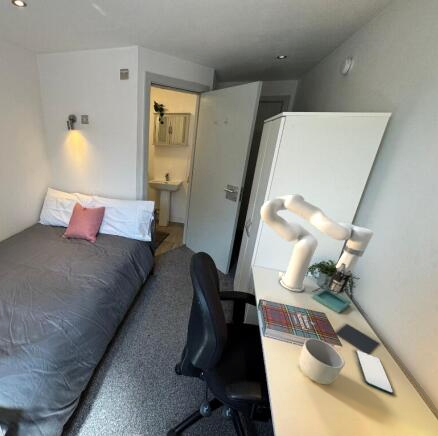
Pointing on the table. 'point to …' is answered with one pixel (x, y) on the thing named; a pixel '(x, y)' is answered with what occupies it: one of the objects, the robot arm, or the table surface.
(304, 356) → the planter
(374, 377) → the smartphone
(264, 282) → the table surface
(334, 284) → the beverage can
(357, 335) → the mat
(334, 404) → the table surface
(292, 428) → the table surface
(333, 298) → the tray
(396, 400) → the table surface
